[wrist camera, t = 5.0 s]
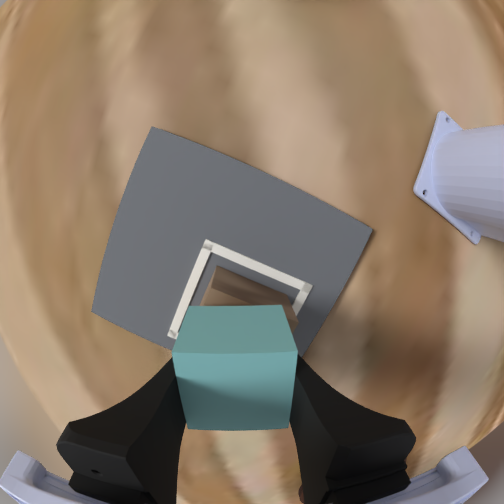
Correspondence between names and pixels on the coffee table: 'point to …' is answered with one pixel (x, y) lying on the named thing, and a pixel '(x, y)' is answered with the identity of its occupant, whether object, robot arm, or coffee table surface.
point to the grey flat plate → (218, 240)
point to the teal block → (235, 367)
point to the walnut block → (244, 294)
